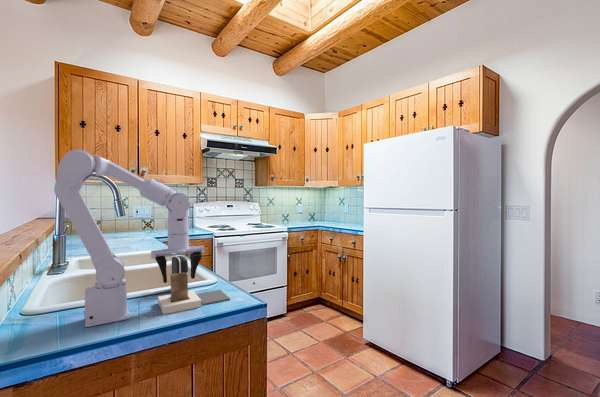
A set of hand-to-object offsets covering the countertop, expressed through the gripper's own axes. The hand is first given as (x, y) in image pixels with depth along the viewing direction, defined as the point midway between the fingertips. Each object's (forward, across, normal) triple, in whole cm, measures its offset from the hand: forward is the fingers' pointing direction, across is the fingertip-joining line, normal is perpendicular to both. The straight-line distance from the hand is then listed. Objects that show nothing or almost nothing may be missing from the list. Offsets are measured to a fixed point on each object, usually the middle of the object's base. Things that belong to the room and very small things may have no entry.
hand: (179, 279), depth 90 cm
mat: (+8, +10, +1) cm, 12 cm away
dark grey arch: (+8, +3, +15) cm, 17 cm away
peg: (+8, 0, 0) cm, 8 cm away
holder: (+7, 0, 0) cm, 7 cm away
